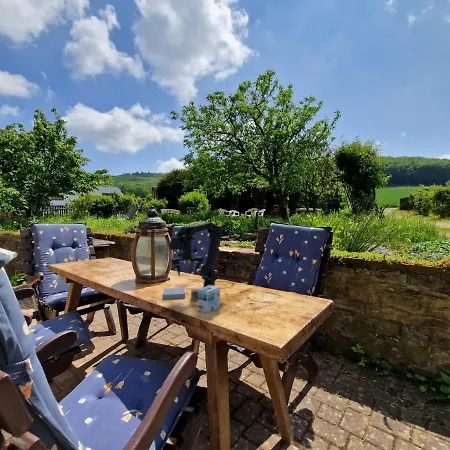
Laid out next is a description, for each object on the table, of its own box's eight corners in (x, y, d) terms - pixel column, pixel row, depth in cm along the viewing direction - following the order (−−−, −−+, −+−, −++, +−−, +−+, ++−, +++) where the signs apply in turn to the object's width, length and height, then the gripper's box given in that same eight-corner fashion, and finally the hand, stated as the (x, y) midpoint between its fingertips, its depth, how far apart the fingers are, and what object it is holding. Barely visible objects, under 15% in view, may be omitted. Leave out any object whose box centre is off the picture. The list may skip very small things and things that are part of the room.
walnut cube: (199, 297, 150) (199, 288, 150) (200, 299, 145) (200, 291, 145) (191, 297, 149) (191, 288, 149) (191, 300, 144) (191, 291, 144)
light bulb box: (208, 313, 125) (208, 291, 125) (197, 310, 129) (197, 289, 128) (220, 307, 134) (220, 286, 134) (209, 304, 138) (209, 284, 137)
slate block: (184, 292, 160) (184, 287, 159) (185, 298, 148) (185, 293, 148) (163, 293, 157) (163, 288, 157) (163, 300, 145) (163, 294, 145)
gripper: (197, 245, 160) (197, 270, 161) (167, 247, 152) (167, 273, 153) (204, 248, 150) (204, 274, 151) (172, 250, 142) (172, 278, 143)
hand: (187, 275), depth 150 cm, fingers open, 9 cm apart
